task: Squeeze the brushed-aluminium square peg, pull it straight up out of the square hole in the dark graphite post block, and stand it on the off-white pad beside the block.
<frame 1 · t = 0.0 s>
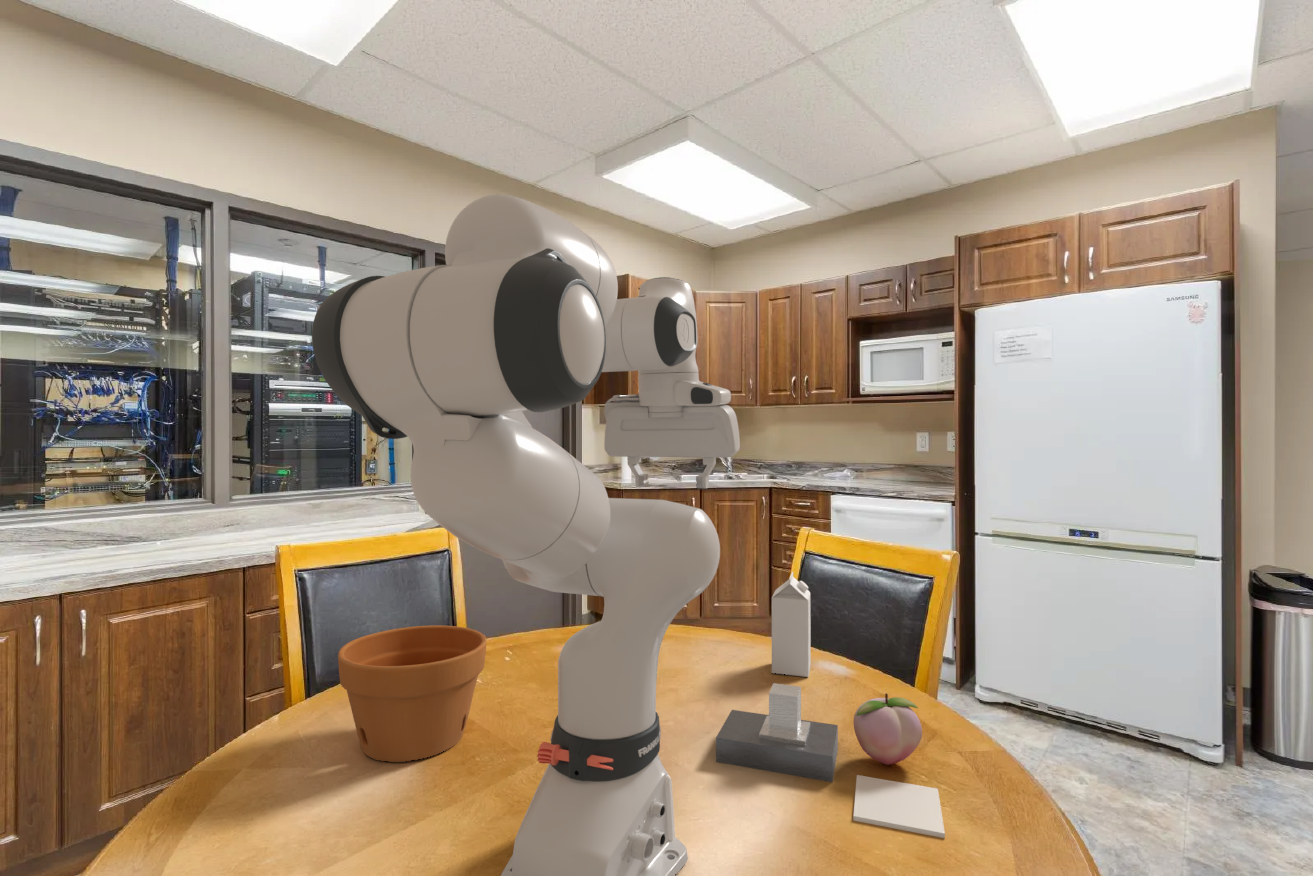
hand: (671, 487, 93), 39 cm above the table, tool pointing down, fingers open, 8 cm apart
flower pot: (414, 741, 96), on the table
decorative fruit: (885, 765, 89), on the table
post block: (778, 755, 92), on the table
milk carton: (791, 671, 126), on the table
pad: (897, 806, 79), on the table
peg: (785, 755, 91), resting in post block
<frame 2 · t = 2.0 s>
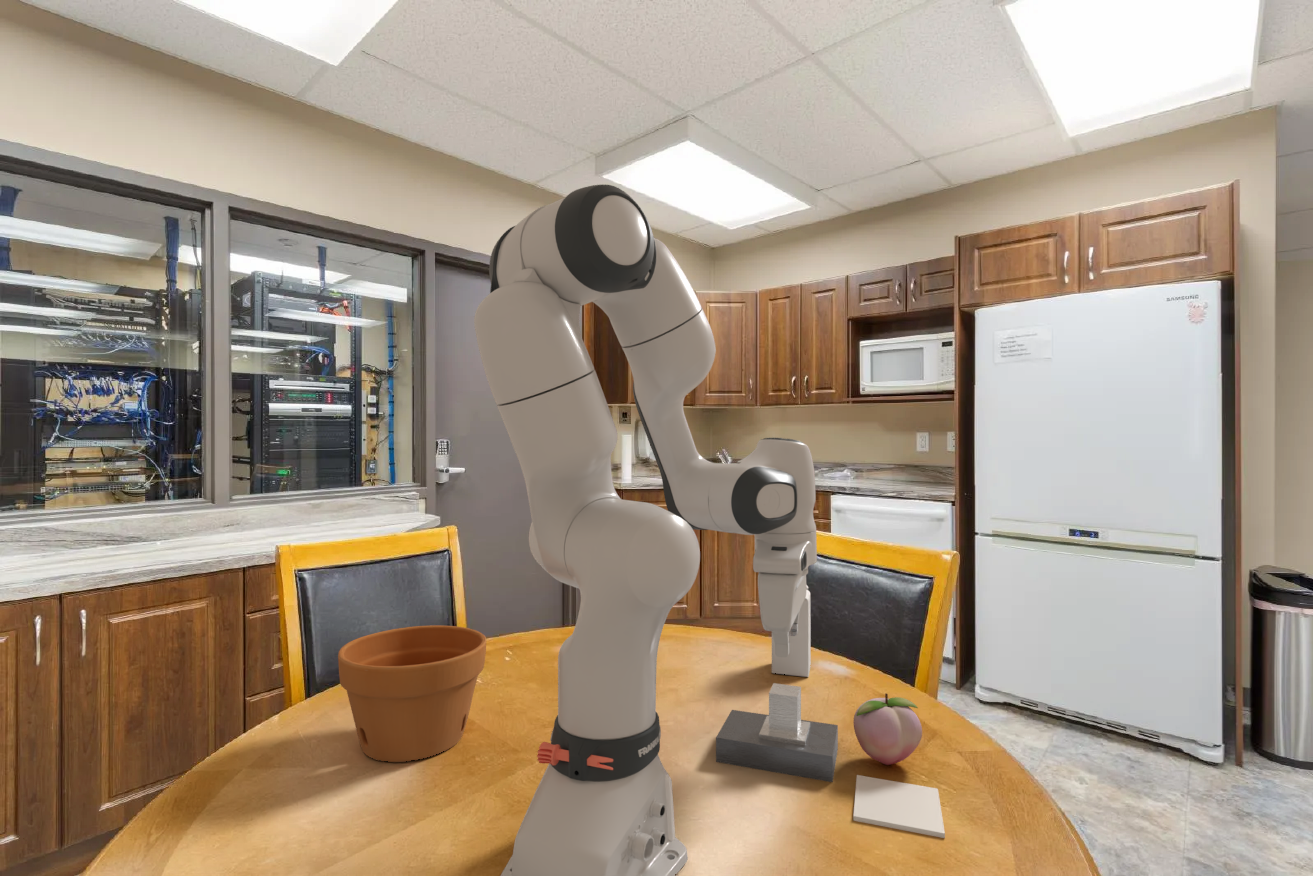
hand: (787, 644, 92), 16 cm above the table, tool pointing down, fingers open, 8 cm apart
nothing on the table moved.
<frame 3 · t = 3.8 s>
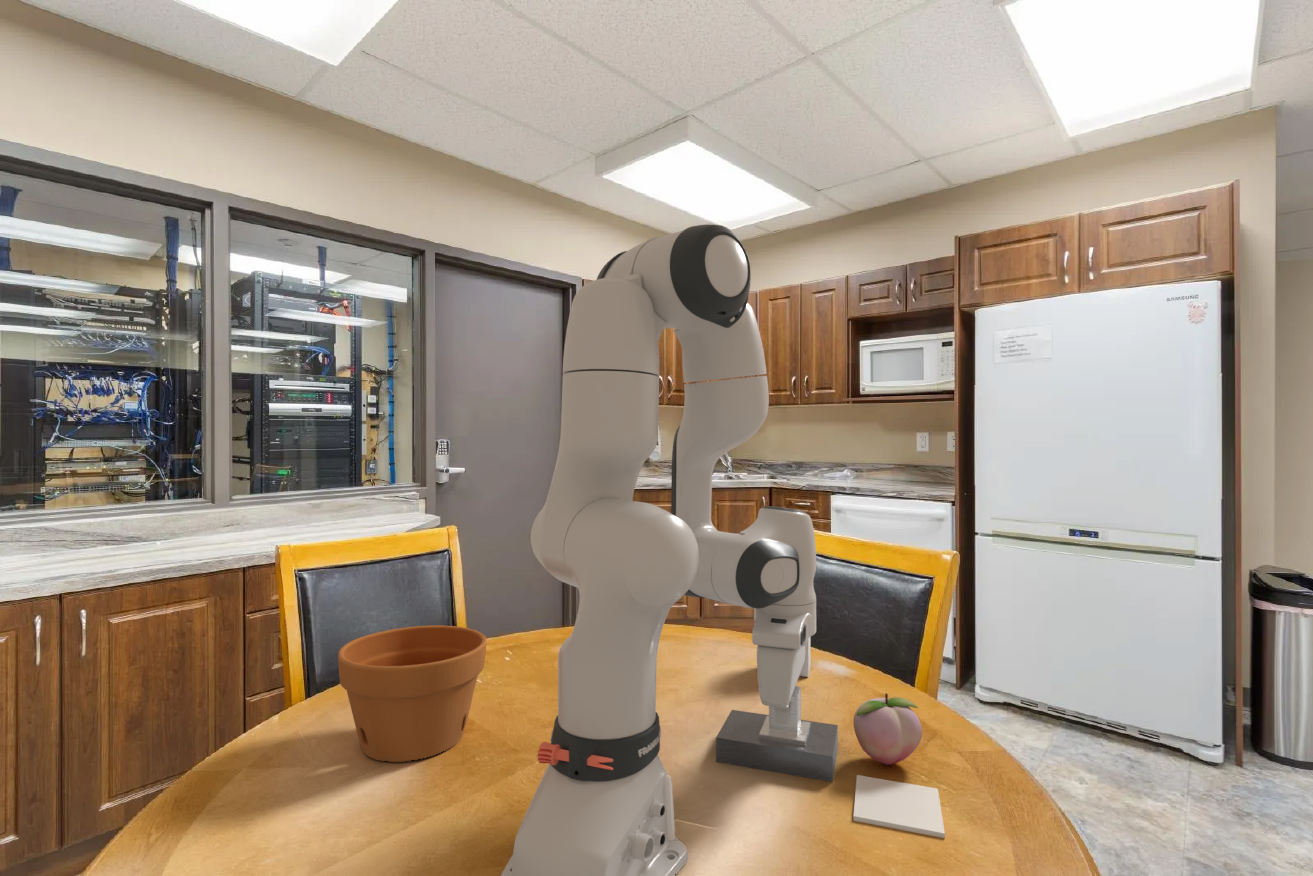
hand: (785, 714, 91), 6 cm above the table, tool pointing down, fingers closed on peg, 4 cm apart
peg: (785, 755, 91), resting in post block, touching gripper
everything else where it was.
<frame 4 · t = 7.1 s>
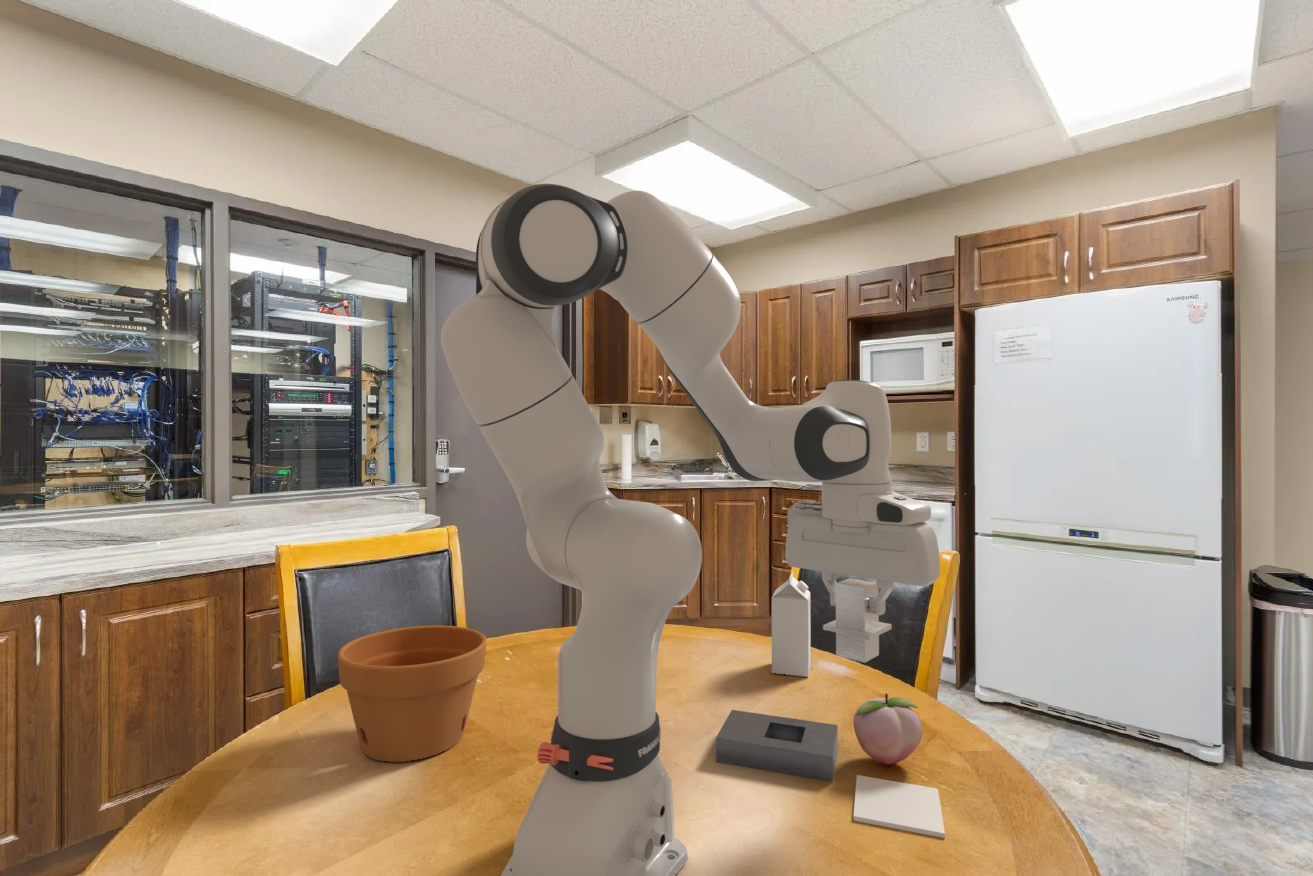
hand: (857, 609, 83), 23 cm above the table, tool pointing down, fingers closed on peg, 4 cm apart
peg: (857, 655, 83), point 17 cm above the table, touching gripper
everything else where it was.
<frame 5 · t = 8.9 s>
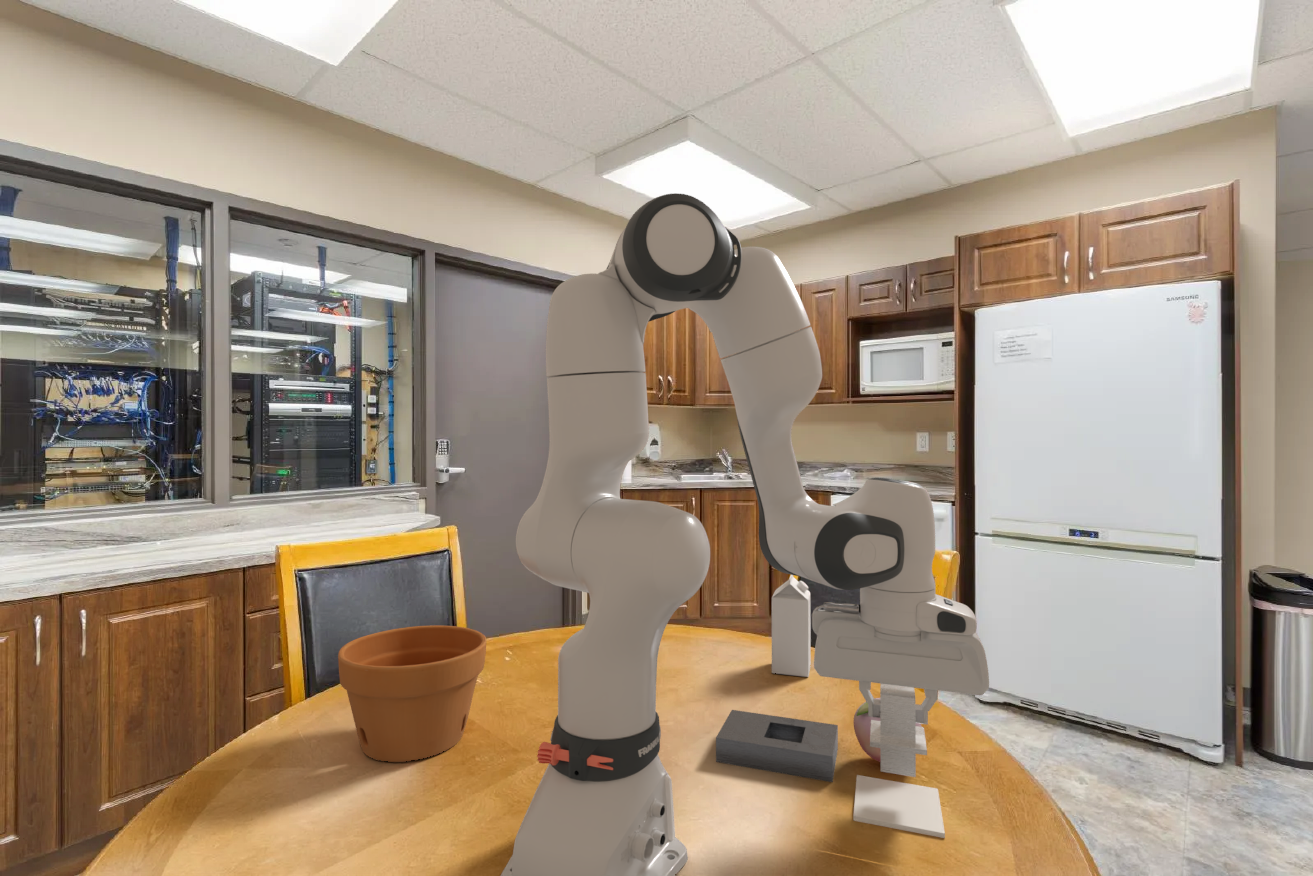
hand: (897, 718, 79), 11 cm above the table, tool pointing down, fingers closed on peg, 4 cm apart
peg: (897, 766, 79), point 5 cm above the table, touching gripper
everything else where it was.
when the fingers open (8 cm above the table, at t = 10.2 s): peg drops 1 cm, resting on pad.
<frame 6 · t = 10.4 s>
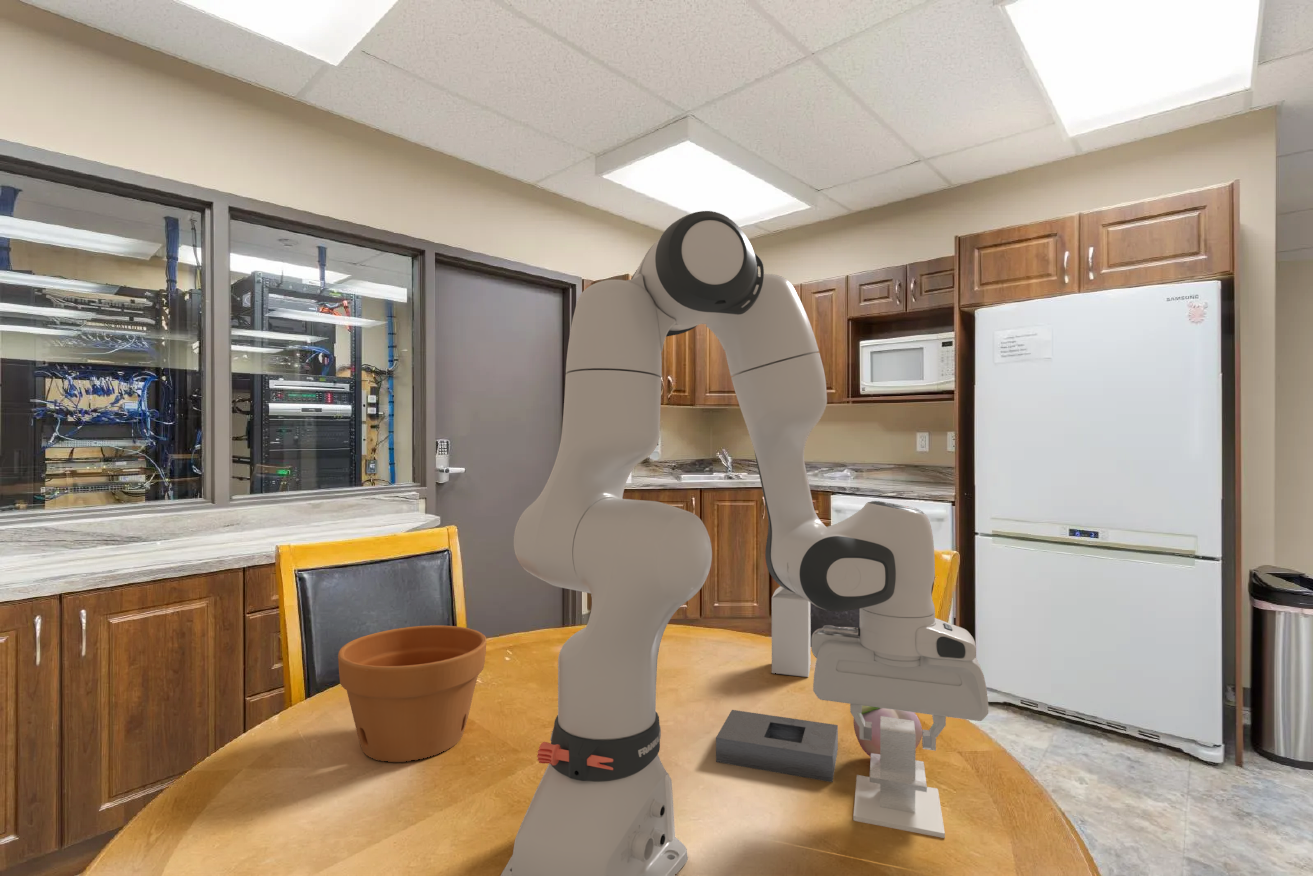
hand: (896, 743, 79), 8 cm above the table, tool pointing down, fingers open, 6 cm apart
peg: (897, 801, 79), point 1 cm above the table, touching pad
everything else where it was.
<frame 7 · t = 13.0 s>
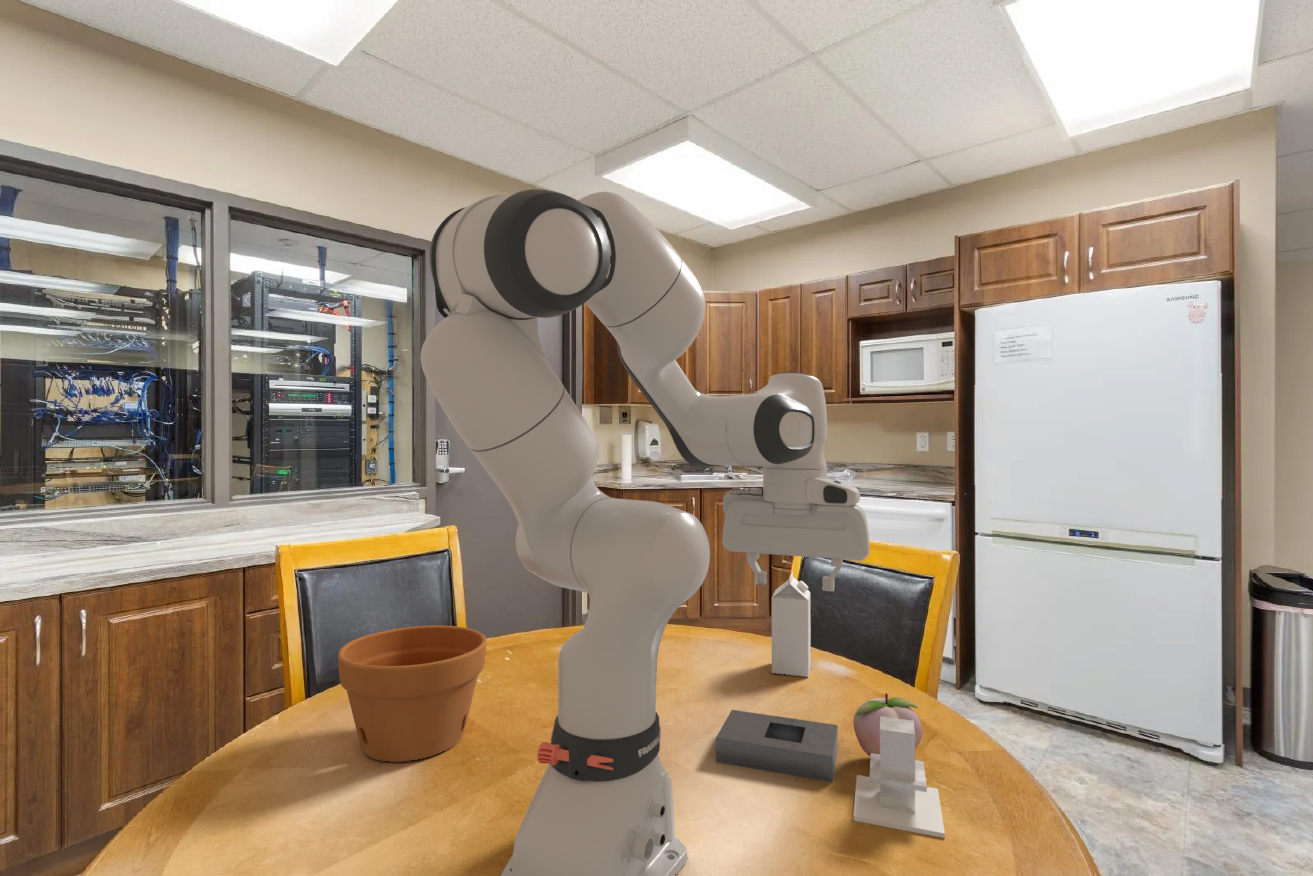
hand: (793, 587, 89), 25 cm above the table, tool pointing down, fingers open, 8 cm apart
nothing on the table moved.
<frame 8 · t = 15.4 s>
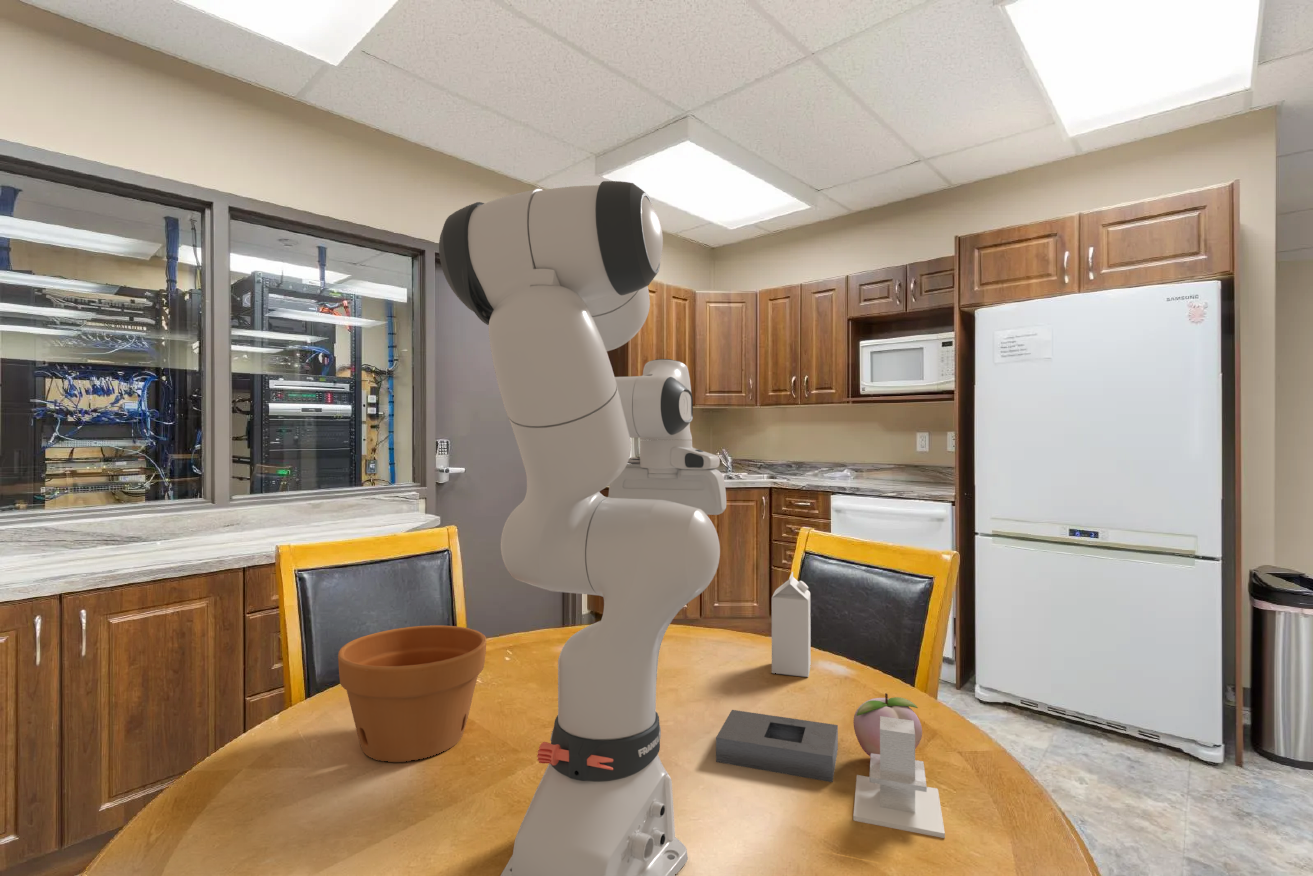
hand: (666, 539, 106), 29 cm above the table, tool pointing down, fingers open, 8 cm apart
nothing on the table moved.
at the end: peg inside the target area on the pad (0.1 cm from its centre), point 0.6 cm above the pad's base; peg touching pad; peg tilted 0° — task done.
